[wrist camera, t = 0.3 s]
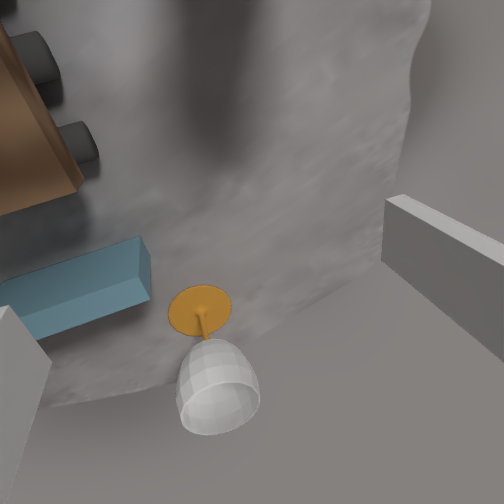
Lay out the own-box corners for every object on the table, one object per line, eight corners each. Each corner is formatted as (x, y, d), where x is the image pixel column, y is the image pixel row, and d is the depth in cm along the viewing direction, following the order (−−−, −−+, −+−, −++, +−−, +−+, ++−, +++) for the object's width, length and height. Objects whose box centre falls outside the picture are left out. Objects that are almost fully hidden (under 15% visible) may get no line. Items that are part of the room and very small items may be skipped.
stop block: (3, 281, 37) (-35, 336, 29) (140, 235, 38) (138, 276, 31) (19, 300, 38) (-13, 357, 31) (150, 256, 40) (150, 299, 33)
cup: (181, 343, 48) (194, 449, 35) (157, 299, 43) (161, 402, 30) (238, 321, 49) (272, 416, 36) (221, 275, 44) (252, 365, 31)
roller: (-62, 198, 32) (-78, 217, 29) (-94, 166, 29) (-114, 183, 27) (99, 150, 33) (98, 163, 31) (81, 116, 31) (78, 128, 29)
